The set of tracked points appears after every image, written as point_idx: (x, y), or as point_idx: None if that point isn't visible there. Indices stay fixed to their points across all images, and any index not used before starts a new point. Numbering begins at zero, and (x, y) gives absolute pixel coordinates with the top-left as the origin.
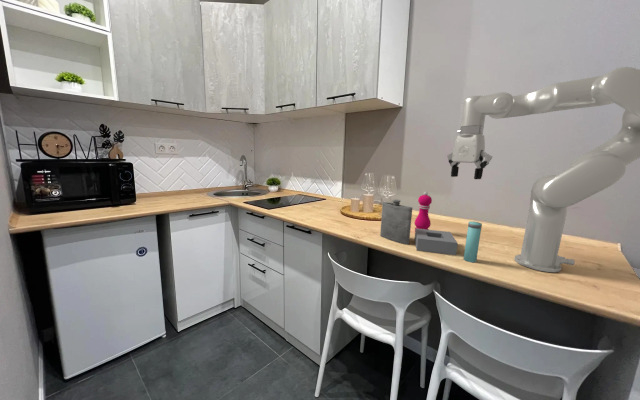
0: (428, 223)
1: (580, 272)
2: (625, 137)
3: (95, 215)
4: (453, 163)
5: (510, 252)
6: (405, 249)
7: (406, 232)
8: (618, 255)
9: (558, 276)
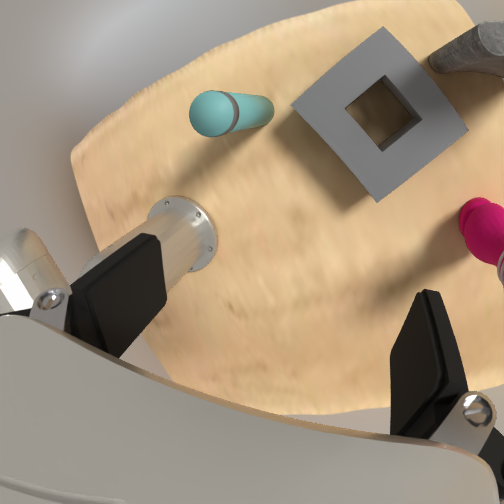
0: (470, 229)
1: None
2: None
3: None
4: (456, 436)
5: (243, 265)
6: (399, 17)
7: (444, 45)
8: (172, 380)
9: (141, 205)
